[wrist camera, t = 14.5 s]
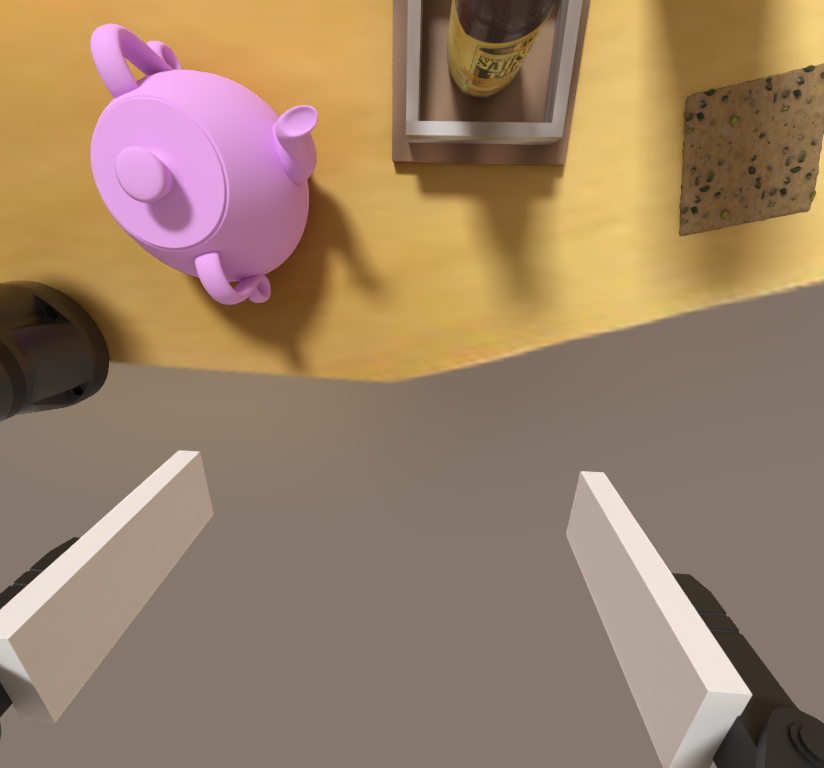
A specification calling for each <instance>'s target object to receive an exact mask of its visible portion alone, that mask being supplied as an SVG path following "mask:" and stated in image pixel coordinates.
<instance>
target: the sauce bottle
mask: <svg viewBox="0 0 824 768" xmlns="http://www.w3.org/2000/svg"><path fill="white" fill-rule="evenodd" d="M556 2H557V0H452V7H451V15H450V24H449V31H448V40H447V62H448V68H449V73H450V77H451V79H452V82H453V84H454V85H455V87H456V88H457V89H458V90H459V91H460V92H461V93H462V94H464V95H466V96H467V97H470V98H472V99H483V98H488V97H492V96H493V95H495V94H497V93H499V92H501V90H502V89H504V88H505V87H506V86H507V85H508V84H509V83H510V82H511V81H512V80H513V78H514V77H515V75H516V74H517V72H518V70H519V68H520V66H521V65H522V63H523V61H524V59H525V57H526V56H527V54H528V52H529V51H530V49H531V47H532V45H533V43H534V42H535V40H536V38H537V37H538V35H539V33H540V31H541V29H542V27H543V26H544V24H545V22H546V21H547V19H548V18H549V16H550V14H551V12H552V10H553V8H554V6H555V4H556Z"/></svg>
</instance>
